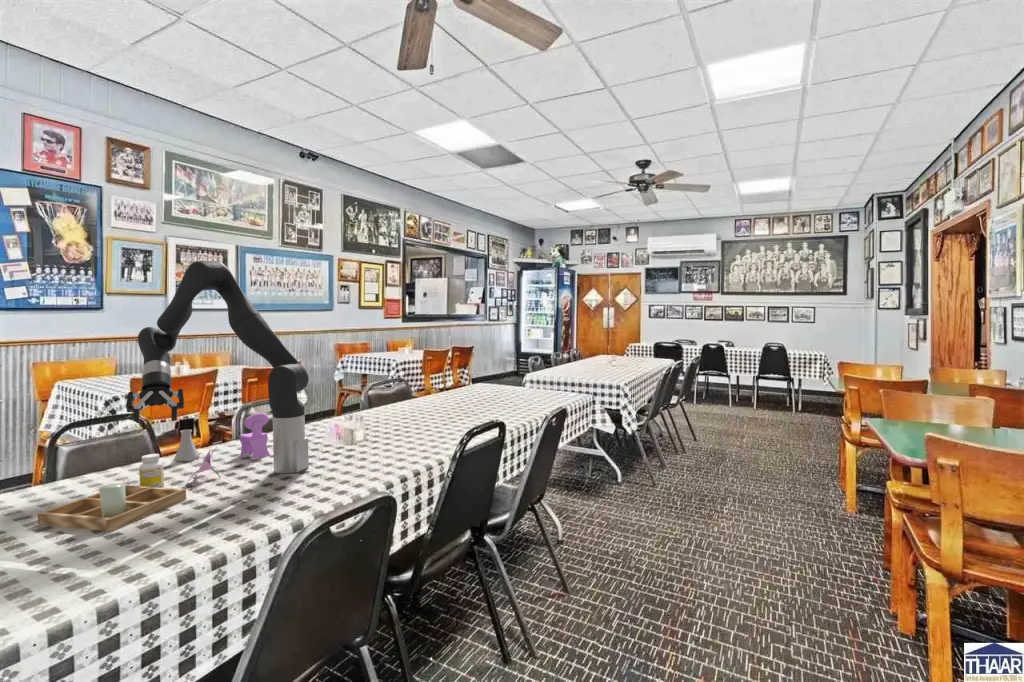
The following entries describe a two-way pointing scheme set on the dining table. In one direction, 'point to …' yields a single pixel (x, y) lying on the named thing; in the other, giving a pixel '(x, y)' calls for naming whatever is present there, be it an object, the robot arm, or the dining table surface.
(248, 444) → the toy chair
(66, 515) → the caddy
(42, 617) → the dining table surface
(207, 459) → the lily
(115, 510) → the cylinder
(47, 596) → the dining table surface
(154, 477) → the supplement bottle
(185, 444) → the flask
